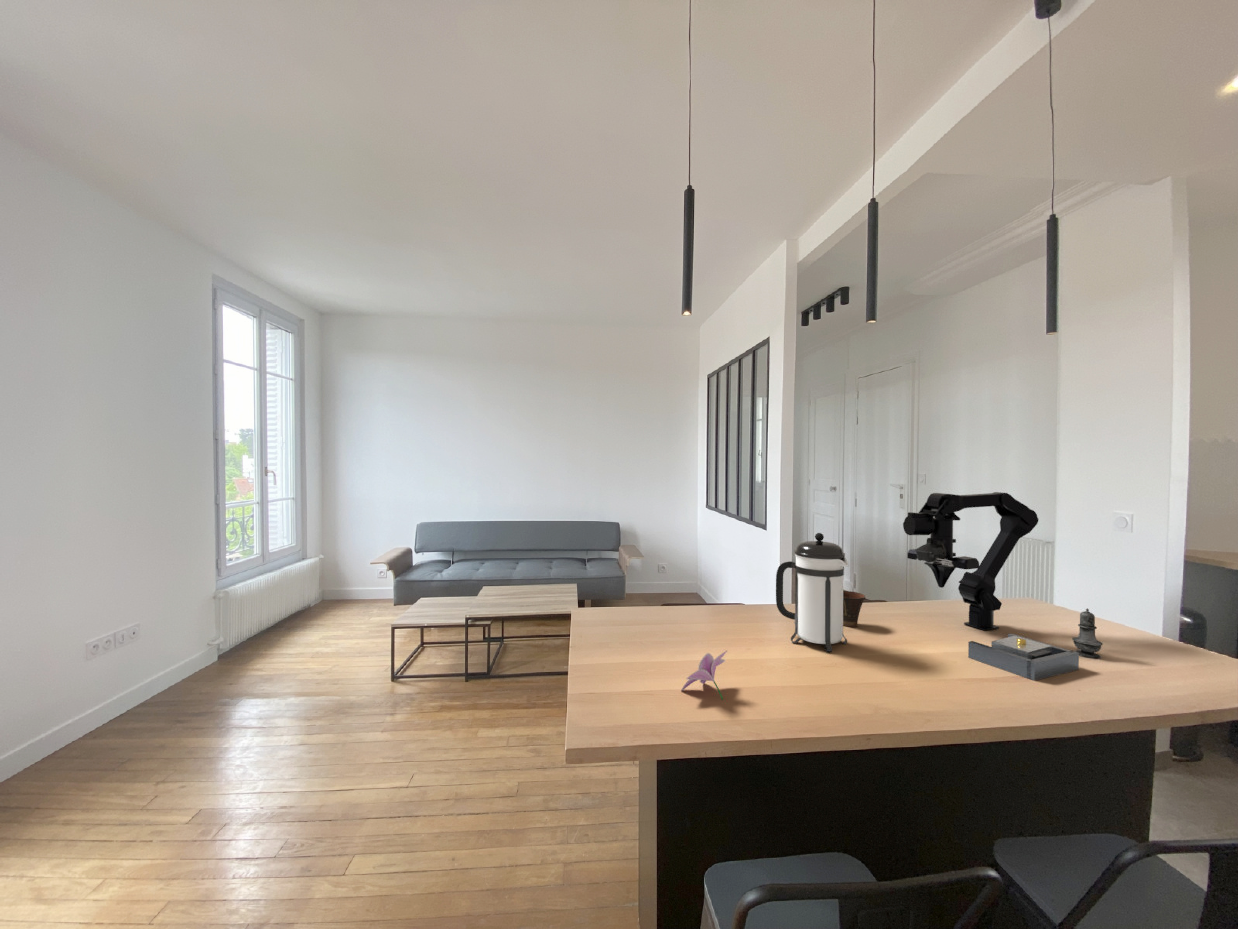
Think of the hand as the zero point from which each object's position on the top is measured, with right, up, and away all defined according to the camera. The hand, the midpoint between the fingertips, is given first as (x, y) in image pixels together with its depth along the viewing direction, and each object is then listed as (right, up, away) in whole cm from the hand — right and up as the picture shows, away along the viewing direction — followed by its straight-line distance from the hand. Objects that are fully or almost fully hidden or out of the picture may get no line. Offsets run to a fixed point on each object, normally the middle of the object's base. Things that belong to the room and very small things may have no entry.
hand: (941, 587), depth 152 cm
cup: (-27, -12, +2) cm, 29 cm away
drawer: (+3, -12, -27) cm, 30 cm away
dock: (+2, -12, -27) cm, 30 cm away
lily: (-78, -12, -44) cm, 90 cm away
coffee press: (-43, -12, -13) cm, 47 cm away
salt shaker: (+24, -12, -22) cm, 34 cm away
